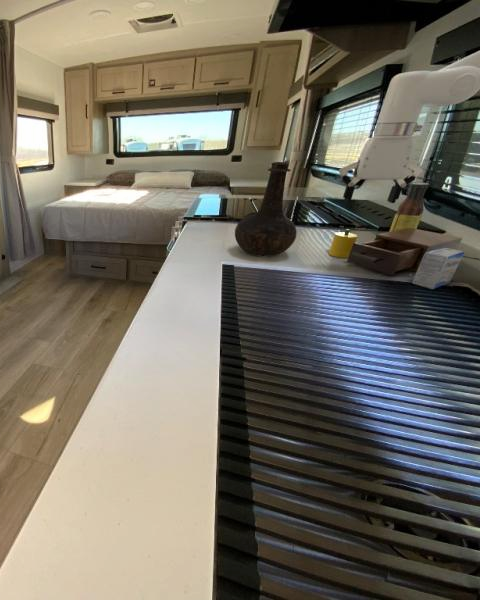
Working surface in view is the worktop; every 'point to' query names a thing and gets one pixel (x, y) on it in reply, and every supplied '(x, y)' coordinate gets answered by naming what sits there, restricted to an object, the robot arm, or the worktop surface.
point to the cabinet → (421, 241)
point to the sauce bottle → (410, 208)
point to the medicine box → (437, 267)
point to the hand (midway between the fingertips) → (368, 201)
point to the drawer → (384, 255)
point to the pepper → (342, 244)
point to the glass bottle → (268, 220)
